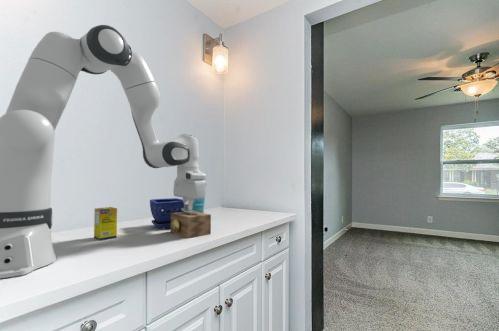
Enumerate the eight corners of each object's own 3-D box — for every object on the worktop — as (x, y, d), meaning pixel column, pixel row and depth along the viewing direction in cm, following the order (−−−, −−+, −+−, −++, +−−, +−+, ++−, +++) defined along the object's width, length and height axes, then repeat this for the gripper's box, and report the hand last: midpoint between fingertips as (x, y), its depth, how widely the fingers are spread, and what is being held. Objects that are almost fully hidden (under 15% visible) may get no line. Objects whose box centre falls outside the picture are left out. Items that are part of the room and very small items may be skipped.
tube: (191, 227, 112) (192, 183, 113) (188, 225, 116) (188, 183, 117) (207, 225, 116) (207, 183, 117) (203, 223, 120) (203, 182, 121)
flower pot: (186, 227, 113) (187, 200, 113) (155, 230, 105) (156, 201, 106) (177, 222, 124) (177, 197, 124) (148, 225, 116) (148, 199, 117)
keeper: (190, 214, 98) (190, 212, 98) (179, 209, 105) (179, 208, 105) (197, 213, 100) (197, 211, 100) (186, 209, 107) (186, 207, 107)
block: (187, 238, 92) (187, 217, 93) (170, 231, 103) (170, 213, 103) (210, 233, 99) (210, 214, 99) (192, 228, 109) (192, 210, 110)
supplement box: (117, 237, 93) (117, 207, 94) (98, 240, 89) (99, 209, 89) (111, 235, 97) (111, 206, 98) (93, 238, 93) (94, 208, 93)
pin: (177, 233, 95) (177, 220, 95) (172, 231, 98) (172, 219, 98) (208, 228, 104) (208, 216, 104) (202, 226, 107) (202, 215, 107)
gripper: (169, 174, 109) (169, 207, 109) (194, 175, 94) (194, 212, 94) (183, 174, 113) (183, 205, 113) (208, 174, 98) (208, 210, 98)
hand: (188, 208), depth 103 cm, fingers closed
